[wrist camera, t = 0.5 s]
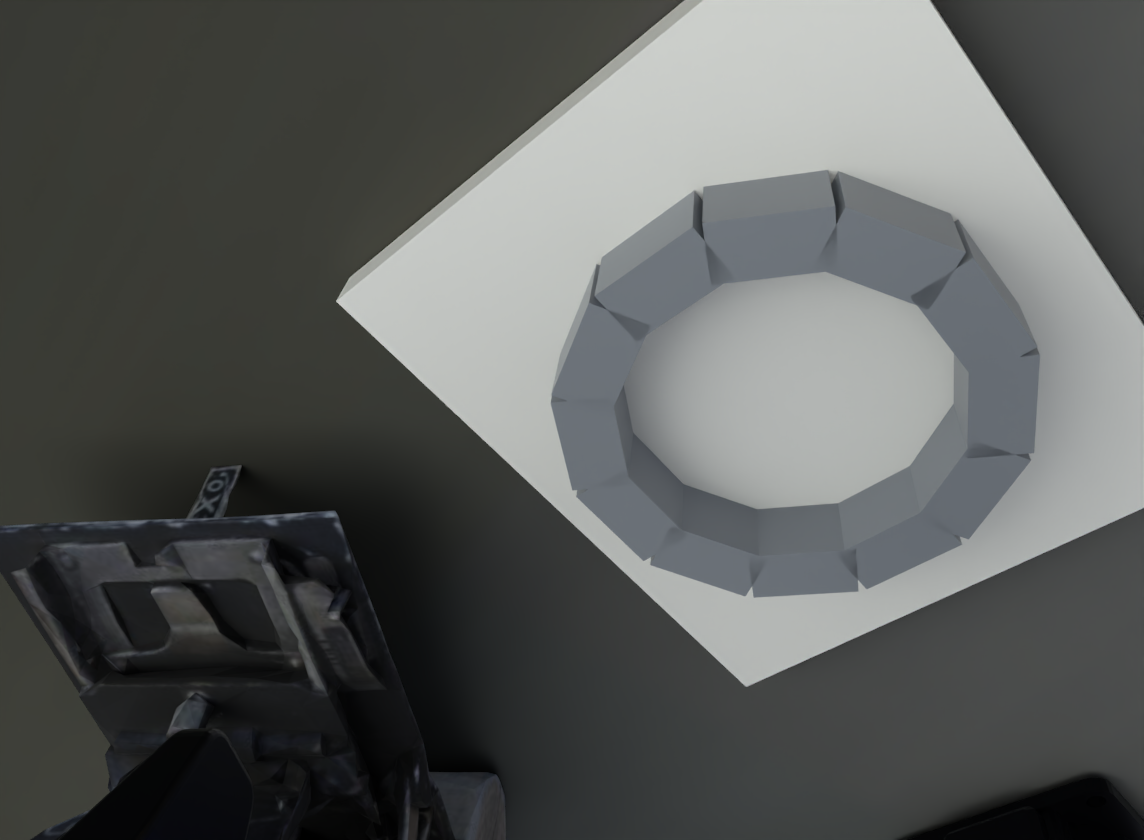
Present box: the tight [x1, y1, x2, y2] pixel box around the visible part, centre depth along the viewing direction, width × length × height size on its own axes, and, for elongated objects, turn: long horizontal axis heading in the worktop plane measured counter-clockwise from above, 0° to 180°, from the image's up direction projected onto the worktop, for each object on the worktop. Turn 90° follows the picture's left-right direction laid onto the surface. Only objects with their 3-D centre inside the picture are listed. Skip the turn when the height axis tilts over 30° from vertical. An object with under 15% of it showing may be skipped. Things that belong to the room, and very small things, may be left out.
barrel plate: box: [336, 0, 1144, 687], centre depth 22 cm, size 14×12×2 cm
